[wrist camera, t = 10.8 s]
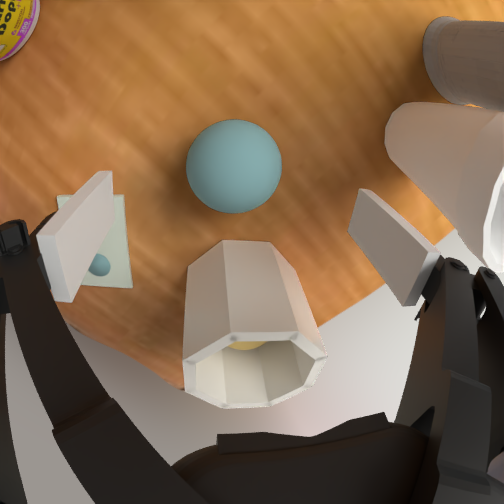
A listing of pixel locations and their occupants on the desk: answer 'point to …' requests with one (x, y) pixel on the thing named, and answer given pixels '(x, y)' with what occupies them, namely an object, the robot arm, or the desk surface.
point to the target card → (110, 252)
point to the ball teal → (233, 166)
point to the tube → (248, 328)
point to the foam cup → (456, 168)
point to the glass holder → (466, 61)
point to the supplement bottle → (16, 24)
